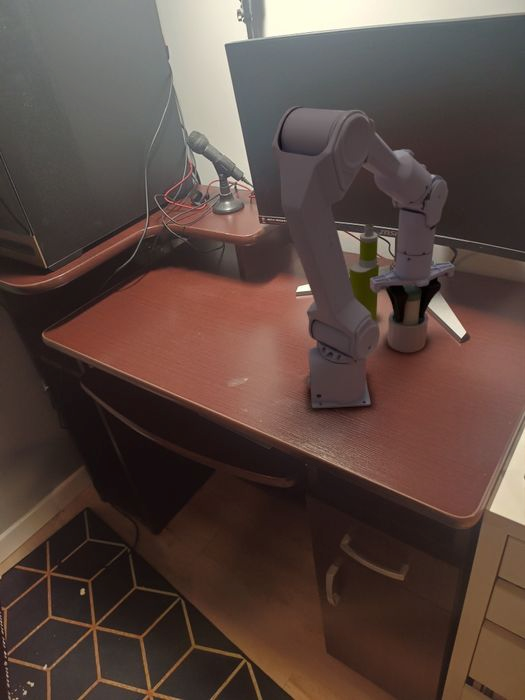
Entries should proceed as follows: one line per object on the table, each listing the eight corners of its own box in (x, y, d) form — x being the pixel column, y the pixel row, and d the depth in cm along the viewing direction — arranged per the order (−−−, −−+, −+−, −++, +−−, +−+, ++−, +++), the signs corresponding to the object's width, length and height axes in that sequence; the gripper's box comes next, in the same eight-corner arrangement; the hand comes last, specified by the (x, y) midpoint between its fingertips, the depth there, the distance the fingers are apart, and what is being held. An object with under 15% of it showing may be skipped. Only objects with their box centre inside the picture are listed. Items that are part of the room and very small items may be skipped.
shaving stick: (403, 332, 83) (406, 296, 79) (394, 322, 86) (397, 287, 82) (421, 328, 84) (425, 292, 79) (412, 318, 87) (415, 283, 82)
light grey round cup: (391, 353, 85) (392, 329, 82) (384, 332, 90) (386, 308, 87) (429, 351, 84) (432, 326, 81) (420, 330, 90) (423, 306, 86)
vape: (379, 318, 94) (384, 224, 83) (360, 330, 92) (362, 235, 80) (365, 311, 97) (368, 220, 85) (346, 323, 94) (346, 230, 82)
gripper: (383, 267, 72) (380, 337, 80) (469, 249, 74) (457, 320, 82) (366, 249, 78) (364, 317, 86) (445, 233, 79) (436, 301, 87)
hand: (408, 317), depth 84 cm, fingers closed on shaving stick, 3 cm apart
